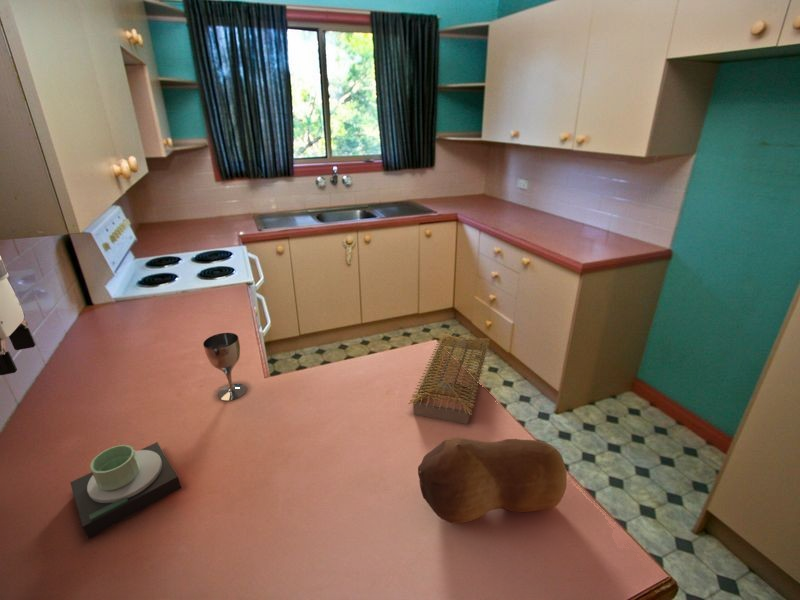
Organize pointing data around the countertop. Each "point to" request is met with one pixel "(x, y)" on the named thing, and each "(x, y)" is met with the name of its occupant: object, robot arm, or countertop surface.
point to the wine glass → (225, 361)
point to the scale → (125, 492)
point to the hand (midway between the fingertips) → (16, 360)
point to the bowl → (115, 467)
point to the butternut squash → (491, 477)
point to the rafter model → (449, 387)
